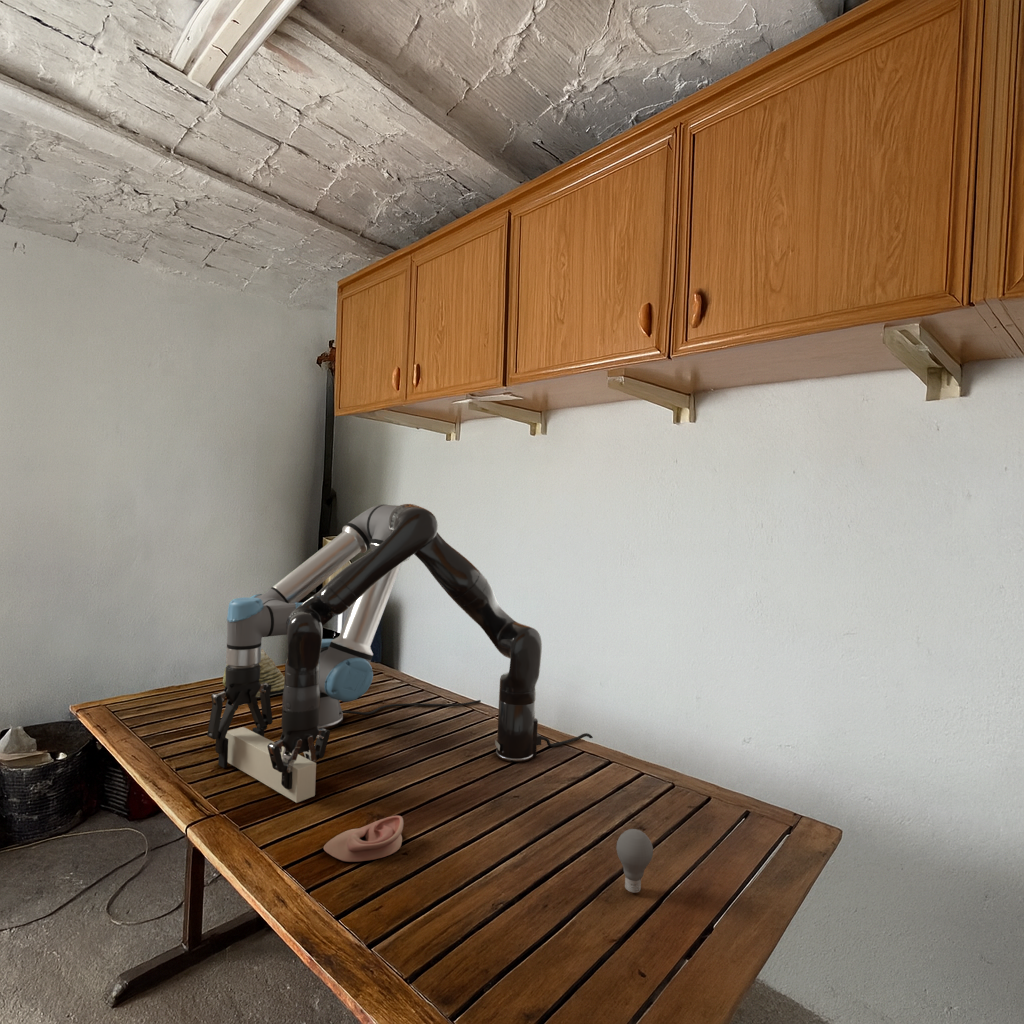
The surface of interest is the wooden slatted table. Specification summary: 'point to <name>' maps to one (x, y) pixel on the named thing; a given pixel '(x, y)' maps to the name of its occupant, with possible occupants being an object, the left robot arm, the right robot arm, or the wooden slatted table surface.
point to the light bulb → (634, 857)
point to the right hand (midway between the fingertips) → (298, 783)
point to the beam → (269, 764)
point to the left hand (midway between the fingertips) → (239, 760)
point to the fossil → (268, 675)
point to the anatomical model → (367, 841)
